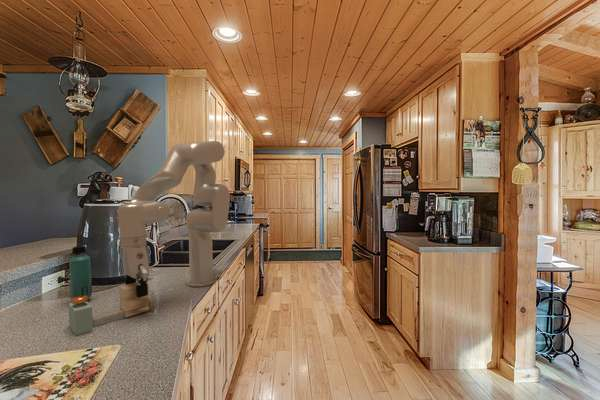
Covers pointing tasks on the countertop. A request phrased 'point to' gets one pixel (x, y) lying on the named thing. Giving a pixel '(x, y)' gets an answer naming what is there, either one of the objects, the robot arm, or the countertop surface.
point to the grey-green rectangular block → (80, 318)
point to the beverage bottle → (80, 273)
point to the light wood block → (132, 300)
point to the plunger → (79, 301)
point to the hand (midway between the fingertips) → (136, 292)
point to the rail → (112, 316)
